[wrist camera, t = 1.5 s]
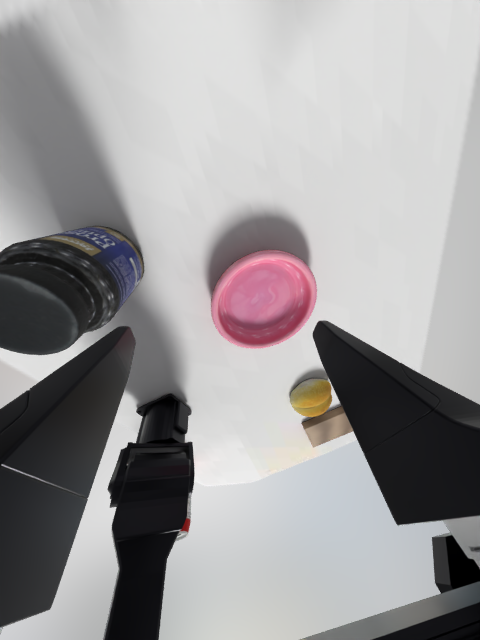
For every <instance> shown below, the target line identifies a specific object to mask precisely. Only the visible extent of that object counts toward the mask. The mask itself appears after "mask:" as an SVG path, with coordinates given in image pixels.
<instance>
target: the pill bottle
mask: <svg viewBox="0 0 480 640" xmlns="http://www.w3.org/2000/svg"><path fill="white" fill-rule="evenodd" d="M143 273H144V262H143V258H142V255H141V253H140V251H139V250H138V248H137V246H136V245H135V244H134V243H133V242H132V241H131V240H130V239H128V238H127V237H126V236H124V235H123V234H122V233H120V232H118V231H116V230H114V229H111V228H108V227H101V226H92V227H86V228H82V229H77V230H73V231H67V232H63V233H59V234H55V235H50V236H46V237H42V238H37V239H32V240H28V241H23V242H19V243H15V244H12V245H11V246H9V247H7V248H5V249H4V250H3V251H1V252H0V348H4V349H7V350H10V351H14V352H18V353H23V354H30V355H47V354H53V353H58V352H60V351H63V350H65V349H67V348H69V347H70V346H71V345H73V344H74V343H75V342H76V341H77V340H78V338H79V337H80V336H82V334H83V333H86V332H90V331H94V330H97V329H99V328H101V327H102V326H104V325H105V324H107V323H108V322H109V321H110V320H111V319H112V318H113V317H114V315H115V314H116V312H117V311H118V310H119V308H120V307H121V306H122V305H123V303H124V302H125V301H126V299H127V298H128V297H129V295H130V294H131V293H132V291H133V290H134V289H135V287H136V286H137V285H138V283H139V282H140V280H141V279H142V277H143Z"/></svg>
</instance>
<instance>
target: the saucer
mask: <svg viewBox="0 0 480 640" xmlns="http://www.w3.org/2000/svg"><path fill="white" fill-rule="evenodd" d="M316 297H317V287H316V281H315V278H314V275H313V273H312V271H311V270H310V268H309V267H308V266H307V265H306V264H305V263H304V262H303V261H302V260H301V259H299V258H298V257H296V256H294V255H292V254H290V253H287V252H284V251H279V250H263V251H258V252H254V253H251V254H248V255H246V256H244V257H242V258H240V259H239V260H237V261H236V262H235V263H233V264H232V265H231V266H230V267H229V268H228V269H227V270H226V271H225V272H224V273H223V274H222V276H221V277H220V279H219V280H218V282H217V284H216V286H215V288H214V291H213V294H212V299H211V313H212V319H213V322H214V324H215V327H216V328H217V330H218V332H219V333H220V334H221V335H222V336H223V337H224V338H225V339H226V340H228V341H229V342H231V343H233V344H235V345H237V346H240V347H245V348H265V347H270V346H273V345H276V344H279V343H281V342H283V341H285V340H287V339H289V338H290V337H292V336H293V335H294V334H296V333H297V332H298V331H299V330H300V329H301V328H302V327H303V326H304V325H305V323H306V322H307V320H308V319H309V317H310V316H311V314H312V311H313V309H314V306H315V303H316Z"/></svg>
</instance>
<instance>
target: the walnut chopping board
mask: <svg viewBox="0 0 480 640" xmlns="http://www.w3.org/2000/svg"><path fill="white" fill-rule="evenodd" d="M302 425H303V427H304V429H305V431H306V434H307V436H308V438H309V440H310V442H311V444H312V446H313V447H316V446H318V445H321V444H323V443H325V442H328V441H330V440H333V439H335V438H338V437H340V436H343V435H345V434H347V433H350V432H352V431H353V429H352V427H351V425H350V423H349V421H348V418H347V416H346V414H345V412H344V410H343V408H342V406H341V407H339V408H336V409H334V410H331V411H329V412H327V413H324V414H322V415H319V416H317V417H315V418H312V419H310V420H308V421H305V422H303V423H302Z"/></svg>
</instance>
